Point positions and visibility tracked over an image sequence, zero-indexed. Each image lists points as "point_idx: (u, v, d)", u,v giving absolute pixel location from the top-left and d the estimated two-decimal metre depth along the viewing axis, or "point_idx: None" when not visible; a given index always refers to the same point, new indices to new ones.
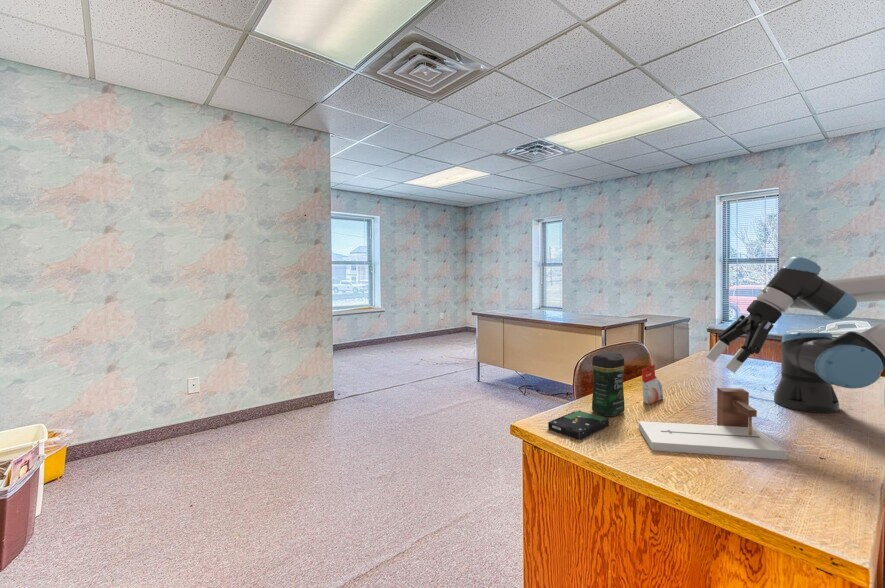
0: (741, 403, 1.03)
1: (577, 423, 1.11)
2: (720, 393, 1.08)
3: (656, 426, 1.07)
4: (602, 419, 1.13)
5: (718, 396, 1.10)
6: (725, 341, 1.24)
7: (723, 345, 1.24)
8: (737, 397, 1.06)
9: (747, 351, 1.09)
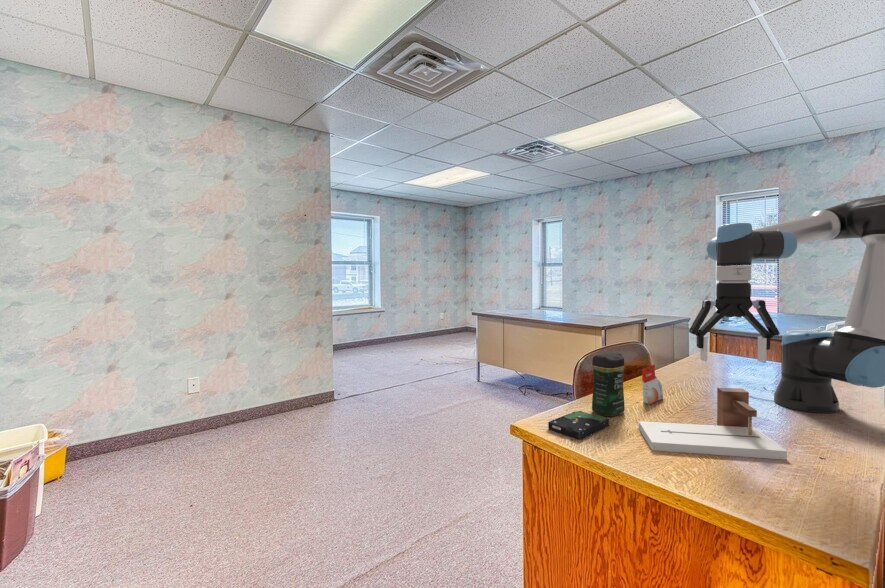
0: (741, 403, 1.03)
1: (577, 423, 1.11)
2: (720, 393, 1.08)
3: (656, 426, 1.07)
4: (602, 419, 1.13)
5: (718, 396, 1.10)
6: None
7: None
8: (737, 397, 1.06)
9: None
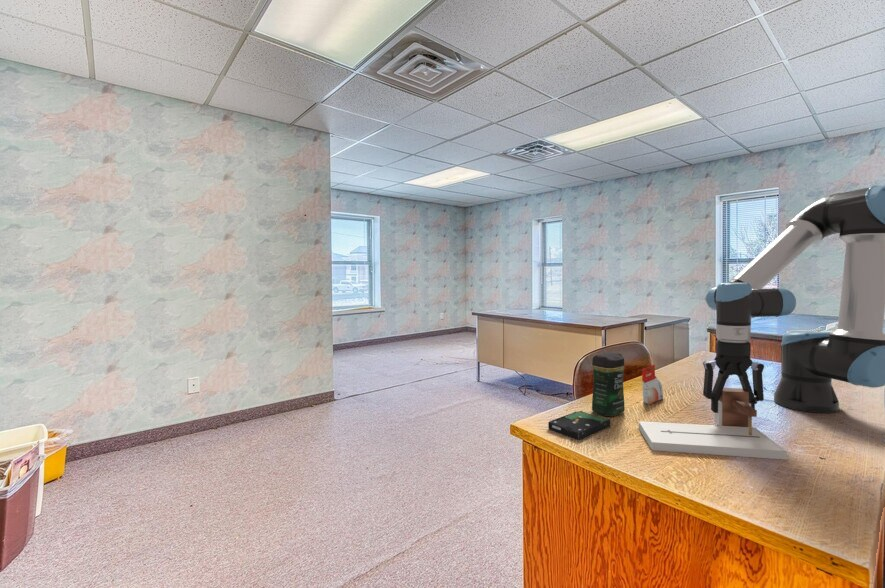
0: (741, 403, 1.03)
1: (577, 423, 1.11)
2: None
3: (656, 426, 1.07)
4: (603, 420, 1.13)
5: None
6: None
7: None
8: (737, 397, 1.06)
9: None
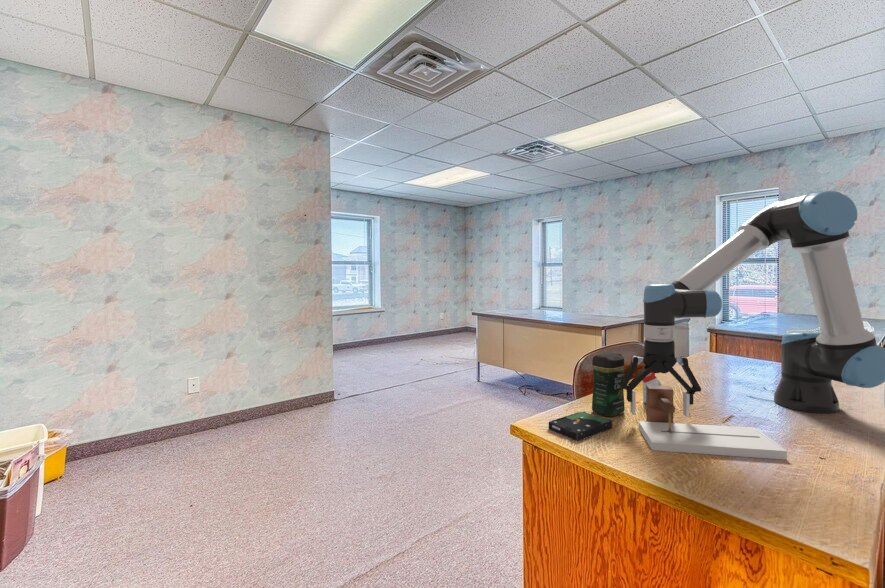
0: (663, 400, 1.07)
1: (578, 424, 1.10)
2: (648, 390, 1.13)
3: (656, 426, 1.07)
4: (605, 421, 1.12)
5: (646, 393, 1.14)
6: None
7: None
8: (662, 394, 1.10)
9: None
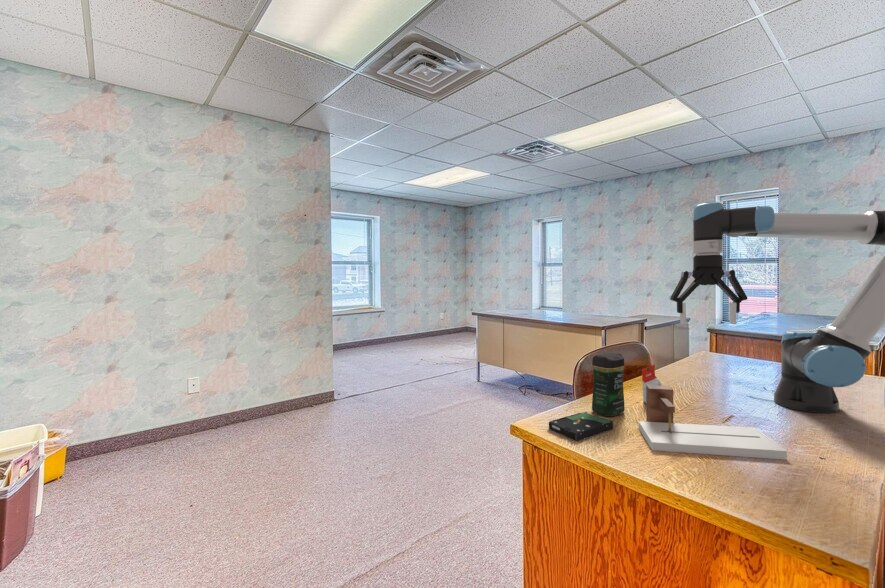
0: (663, 400, 1.07)
1: (578, 424, 1.10)
2: (648, 390, 1.13)
3: (656, 426, 1.07)
4: (605, 422, 1.11)
5: (647, 393, 1.14)
6: None
7: None
8: (663, 394, 1.10)
9: None
